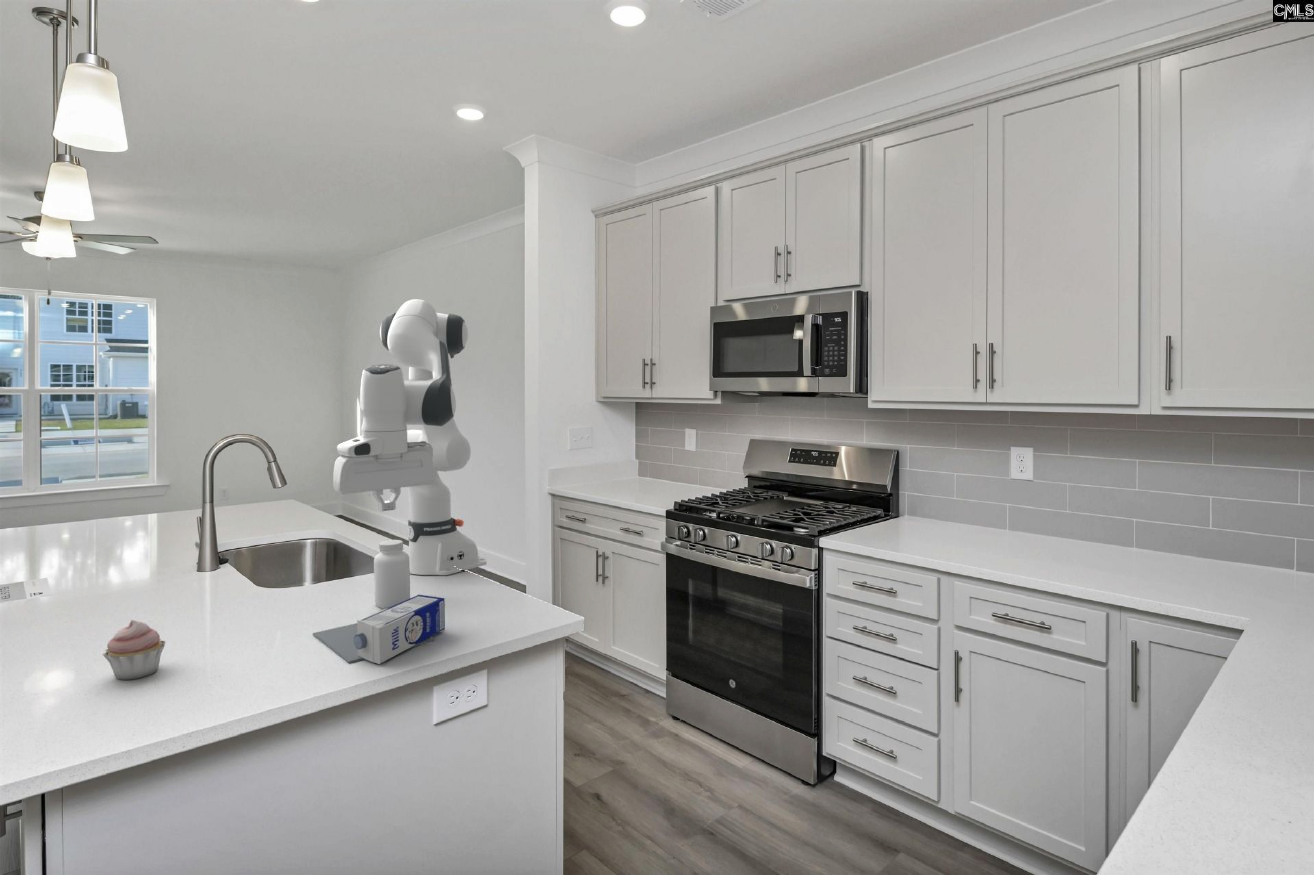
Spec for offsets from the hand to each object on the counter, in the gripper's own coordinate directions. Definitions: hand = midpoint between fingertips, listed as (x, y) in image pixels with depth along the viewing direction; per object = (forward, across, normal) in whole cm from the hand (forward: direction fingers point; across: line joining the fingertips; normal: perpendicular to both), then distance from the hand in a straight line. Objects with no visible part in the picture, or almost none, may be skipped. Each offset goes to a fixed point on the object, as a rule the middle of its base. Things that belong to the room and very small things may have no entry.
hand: (387, 510), depth 148 cm
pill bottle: (+27, -8, -19) cm, 34 cm away
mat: (+26, +4, 0) cm, 27 cm away
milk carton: (+23, -8, +4) cm, 24 cm away
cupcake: (+26, +42, -11) cm, 51 cm away
